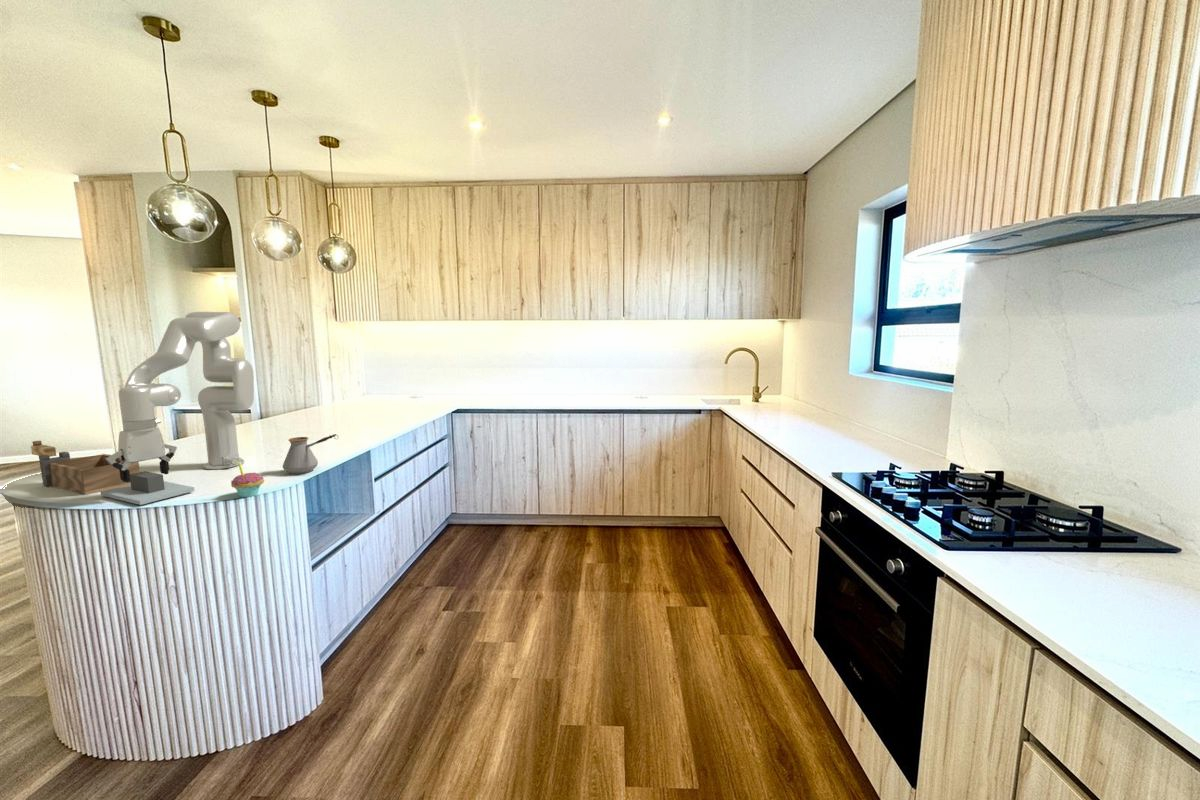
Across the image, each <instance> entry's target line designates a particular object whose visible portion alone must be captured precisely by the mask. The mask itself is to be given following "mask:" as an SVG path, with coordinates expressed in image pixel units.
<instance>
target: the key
mask: <svg viewBox="0 0 1200 800" xmlns="http://www.w3.org/2000/svg"><path fill="white" fill-rule="evenodd" d="M30 449H31V454H32V455H34V456H38V457H39V456H40V455H49V456H50V458H52V457H55V456H57V451H56V449H57V448H56V447H55V446H51V445H45V444H43V442H42V440H34V441H32V445H30Z"/></svg>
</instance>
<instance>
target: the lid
mask: <svg viewBox="0 0 1200 800" xmlns="http://www.w3.org/2000/svg"><path fill="white" fill-rule="evenodd" d="M130 479H131V481H130V482H131V485H128V486H124V487H119V488H115V489H110V490H106V491H101V492H100V495H101V496H103V497H107V498H109V499H110V498H111V499H114V500H119V501H122V502H128V503H131V504H135V505H141V506H143V505H148V504H151V503H155V502H159V501H160V502H161V501H163V500H168V499H171V498H174V497H178V496H182V495H187V494H188V493H191V492H195V491H196V490H195V487H194V486H189V485H185V484H179V483H175V482H169V481H165V480H164V474H163V473H156V472H151V471H147V470H146V471H145V470H144V471H140V472H139V473H134V474H130Z"/></svg>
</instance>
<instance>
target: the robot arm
mask: <svg viewBox="0 0 1200 800" xmlns="http://www.w3.org/2000/svg"><path fill="white" fill-rule="evenodd" d="M240 327H241V321H240V319H239V317H238V316H237V315H236V314H234V313H233V312H227V311H193V312H188V313H187V314H186V315H185V317H177V318H174V319H172V320H171V321H170V322H169V323H168V326H167V328H166V329H165V332H164V334H163V337H162V339H161V341H160V343H159V346H158V348H157V351H156V352H155V353H154V354H153V355H152V356H149V357H148V358H147V359H145V360H144V361H143V362H141V363H140V364H139V365H137V366H136V367H135V368H134V369H133V370H132V371H131V373H130V374H129V376H128V378H127V380H126V382H125V385H124V387H122V388H120V389H119V390H118V399H119V400H118V401H119V408H120V415H121V424H122V428H123V429H122V430H120V431H119V433H118V443H117V445H118V447H117V449H118V451H116V452H115V453H113V454H110V455H111V456H109V457H108V458H106V461H107V462H108V463H109V464H110V465H111V466H113V467H115V468H117V469H118V470H119V471H120V478H121V480H122V481H123V482H127V483H128V482H130V481H131V479H130V472H129V470H127V468H128V467H129V465H130V464H131V463H135V462H145V461H150V460H155V459H158V460H160V461H159V470H160V474H162V475H169V471H170V463H169V462H170V461H171V459H172V458H173V457H174V456H175V454H176V451H177V450H178V449H177V448H178V447H177V446H175V445H170V444H166V443H165V441H164V438H163V435H162V432H161V430H160V427H157V426H158V424H161V422H162V421H161V418H160V419H159V418H158V419H157V418H156V415H155V414H156V413H155V407H169V406H173V405H175V404H177V403H178V402H179V401H180V399H181V397H182V393H181V390H180V389H179V387H177V386H175V385H174V384H171V383H152V381H154V380H155V379H156V378H157V377H158V376H160V375H162V374H164V373H167V372H169V371H171V370H175V369H177V368H180V367H182V366H184V365H186V364H188V362H189V360H190V357H191V355H192V353H193V350H194V348H195V345H196V343H198V342H200V344H201V348H202V374H203V378H204V379H205V380H206V381H207V382H210V383H221V384H223V383H225V384H227V383H228V384H229V383H231V384H232V385H213V386H212V385H211V386H207V387H204V388H203V389H201V390H200V391H199V392H198V395H197V401H198V406H199V407H200V410H201V412H202V417H203V418H202V419H203V425H204V434H205V435H204V437H205V443H206V444H205V445H206V452H207V453H206V454H207V462H206V463H204V464H203V469H206V470H222V469H229V468H234V467H239V465H238V463H239V462H240V463H241V465H243V464H244V463H245V460H244V459H243V458H242V457H240V455H239V447H238V436H237V435H238V434H237V428H236V426H237V423H236V419H235V417H234V415H233V414H232V413H231V411H245V410H249V409H250V408H251V407H252V406H253V404H254V398H255V396H254V395H255V394H254V391H255V389H254V386H255V384H254V382H255V381H254V377H255V375H254V369H253V367H252V364H251V362H250V361H248V360H247V359H245V358H236V357H235V358H233V357H232V353H231V352H232V351H231V349H232V348H231V345H230V342H229V340H228V339H227V338H228V337H231V336H233V335H235V334H237V333H238V332H239V330H240ZM166 449H168V452H167V453H166ZM118 457H119V460H120V461H122V462H121V463H120V464H118V463H117V462H116V461H115V459H117V458H118ZM238 461H239V462H238Z"/></svg>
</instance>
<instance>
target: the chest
mask: <svg viewBox="0 0 1200 800" xmlns="http://www.w3.org/2000/svg"><path fill="white" fill-rule="evenodd" d="M58 455H59V456H57V457H55V456H54V457H50V456H49V455H40V456H38V460H39V465H40V474H41V479H42V486H43V487H45V486H47V487H46V488H50V487H49V486H51V487H53V486H55V487H54V488H57V487H58V489H61V488H62V490H66V491H69V492H73V493H77V494H81V495H83V496H88V495H91V494H95V493H101V492H102V491H106V490H111V489H115V488H120V487H124V486H129V485H131V482H128V483H127V482H123V481H122V480H121V478H120V471H119V470H118V469H117V468H115V467H113V466H111V465H110V464H109V463H108V462H107V461H106V458H108V457H109V456H111V455H112V454H106V453H102V454H96V455H91V456H84V457H79V458H74V459H72V458H71V456H70V452H69V451H60V452H58ZM115 461H116V462H117V463H118V464H120V463H121V462H122V461H120V460H119V457H118V458H117V459H115ZM127 470H129V472H130V474H134V473H139V472H141V470H140V464H139V462H135V463H131V464H130V465H129V467H128V468H127Z"/></svg>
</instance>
